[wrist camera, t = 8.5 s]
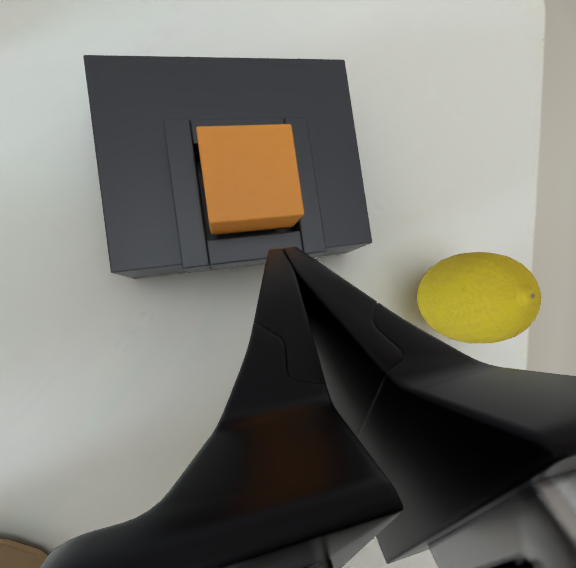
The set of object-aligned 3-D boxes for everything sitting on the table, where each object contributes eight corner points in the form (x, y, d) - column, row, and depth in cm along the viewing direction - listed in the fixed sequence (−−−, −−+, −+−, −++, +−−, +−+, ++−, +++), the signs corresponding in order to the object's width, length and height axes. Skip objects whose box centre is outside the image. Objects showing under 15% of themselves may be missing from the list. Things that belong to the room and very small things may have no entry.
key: (293, 227, 16) (304, 214, 13) (211, 235, 15) (208, 223, 12) (281, 149, 16) (291, 122, 13) (199, 152, 15) (195, 125, 13)
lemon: (443, 250, 24) (552, 224, 16) (471, 317, 24) (592, 324, 16) (383, 278, 22) (468, 266, 15) (413, 348, 23) (513, 373, 15)
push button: (347, 259, 22) (391, 244, 16) (134, 286, 19) (95, 279, 13) (323, 101, 22) (359, 30, 16) (111, 104, 19) (62, 18, 14)
